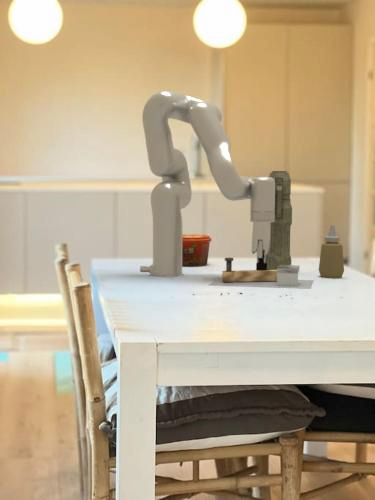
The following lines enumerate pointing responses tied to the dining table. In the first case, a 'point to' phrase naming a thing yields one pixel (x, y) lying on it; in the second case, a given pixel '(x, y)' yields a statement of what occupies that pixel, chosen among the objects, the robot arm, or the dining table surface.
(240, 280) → the oak link
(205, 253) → the food container
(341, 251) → the squeeze bottle
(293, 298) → the dining table surface
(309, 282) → the base plate
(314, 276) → the dining table surface
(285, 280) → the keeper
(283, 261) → the olive green pillar
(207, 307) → the dining table surface
